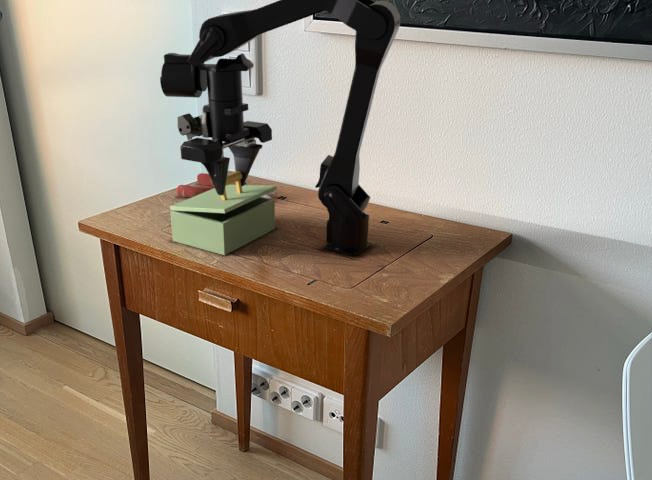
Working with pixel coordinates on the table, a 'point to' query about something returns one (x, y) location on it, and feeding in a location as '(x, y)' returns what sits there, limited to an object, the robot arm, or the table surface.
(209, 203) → the lid
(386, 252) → the table surface
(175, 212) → the box
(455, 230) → the table surface
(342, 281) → the table surface
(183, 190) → the pliers
